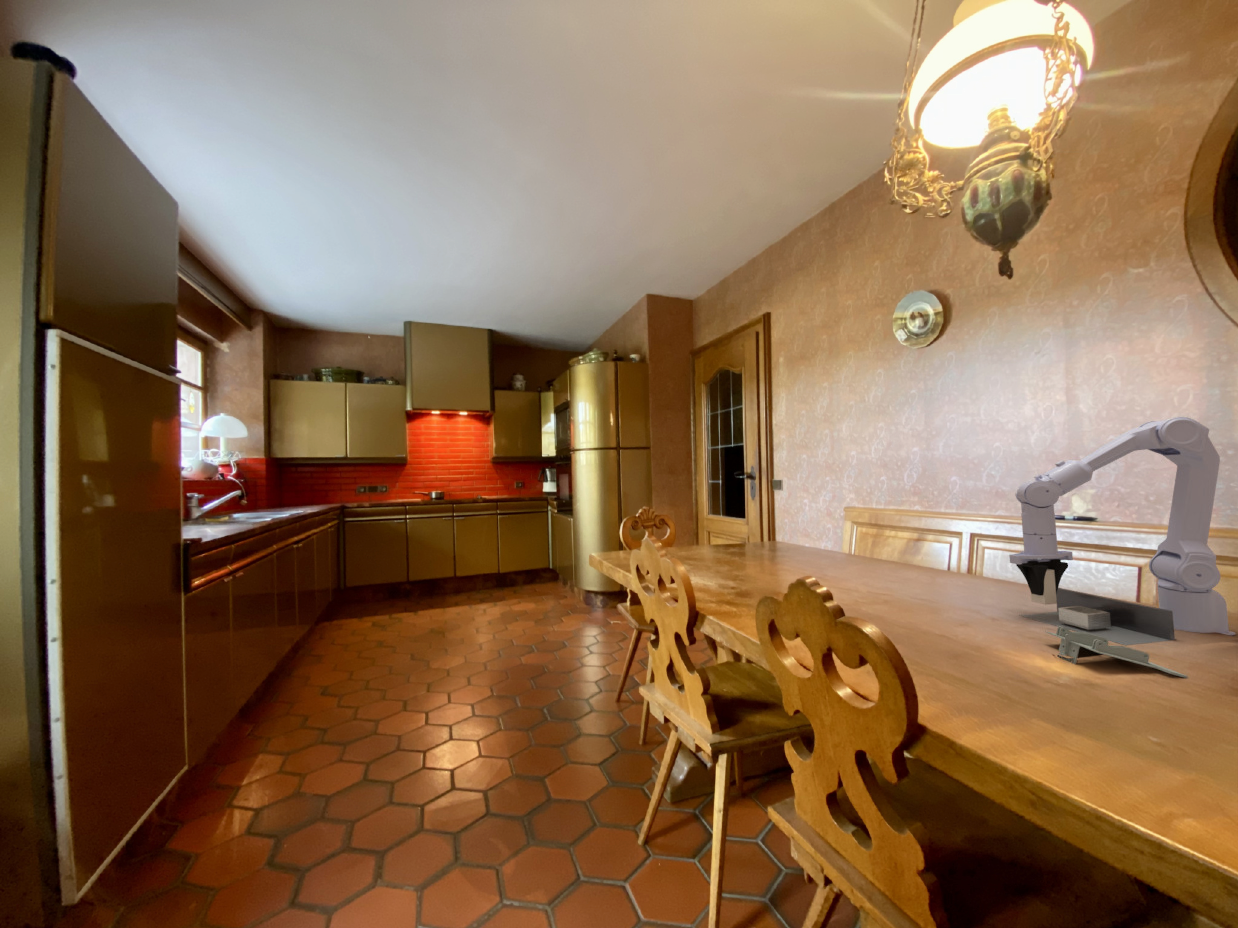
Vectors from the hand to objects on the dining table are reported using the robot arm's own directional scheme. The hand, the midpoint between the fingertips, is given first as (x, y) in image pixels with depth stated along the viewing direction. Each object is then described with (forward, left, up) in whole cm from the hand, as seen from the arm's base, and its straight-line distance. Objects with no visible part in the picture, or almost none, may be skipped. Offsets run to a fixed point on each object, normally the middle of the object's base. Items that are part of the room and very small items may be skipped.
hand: (1043, 593), depth 105 cm
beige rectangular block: (0, 0, -2) cm, 2 cm away
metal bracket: (+13, +20, -7) cm, 25 cm away
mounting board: (-2, +7, -6) cm, 10 cm away
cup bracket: (-3, +7, -5) cm, 9 cm away
